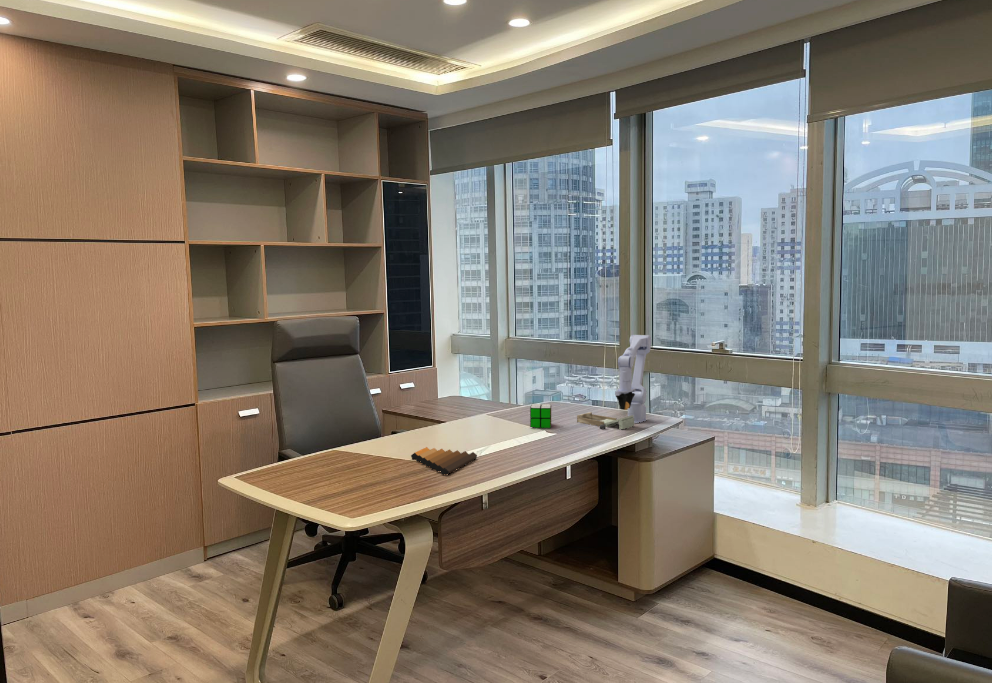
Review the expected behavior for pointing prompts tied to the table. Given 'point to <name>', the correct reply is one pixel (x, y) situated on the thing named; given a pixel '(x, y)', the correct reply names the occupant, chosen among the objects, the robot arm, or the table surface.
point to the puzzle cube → (540, 415)
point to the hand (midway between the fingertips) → (625, 408)
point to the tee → (602, 426)
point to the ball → (626, 406)
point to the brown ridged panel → (443, 459)
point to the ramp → (620, 422)
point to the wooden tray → (592, 419)
